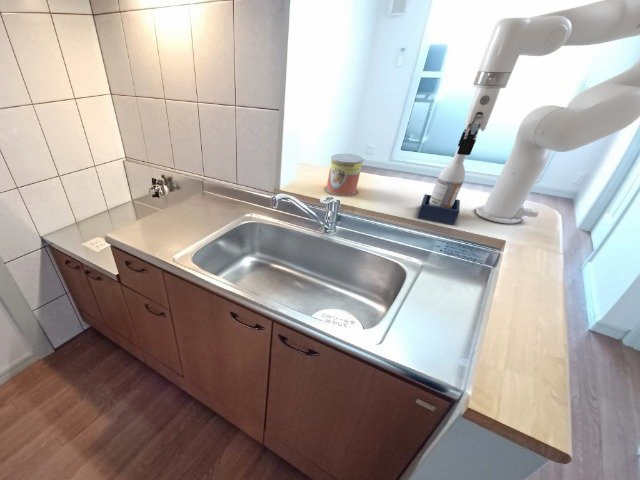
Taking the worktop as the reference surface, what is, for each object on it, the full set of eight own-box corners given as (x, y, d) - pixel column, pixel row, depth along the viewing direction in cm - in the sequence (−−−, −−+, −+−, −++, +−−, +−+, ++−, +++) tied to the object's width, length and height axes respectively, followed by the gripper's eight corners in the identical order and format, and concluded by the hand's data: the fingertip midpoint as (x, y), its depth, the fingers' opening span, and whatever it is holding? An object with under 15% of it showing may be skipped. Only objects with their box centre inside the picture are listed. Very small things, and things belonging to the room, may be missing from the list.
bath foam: (443, 220, 103) (471, 153, 91) (421, 213, 107) (445, 149, 95) (451, 214, 107) (479, 149, 94) (430, 208, 111) (454, 145, 98)
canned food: (320, 190, 125) (325, 158, 117) (334, 183, 132) (340, 152, 124) (347, 198, 119) (354, 164, 112) (360, 190, 126) (368, 157, 118)
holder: (454, 212, 109) (459, 199, 106) (453, 224, 102) (459, 211, 99) (420, 206, 113) (424, 194, 110) (417, 217, 106) (422, 204, 103)
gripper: (511, 84, 77) (478, 159, 88) (505, 78, 89) (477, 145, 99) (475, 82, 80) (447, 156, 90) (474, 77, 91) (450, 142, 102)
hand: (463, 150), depth 95 cm, fingers open, 9 cm apart
